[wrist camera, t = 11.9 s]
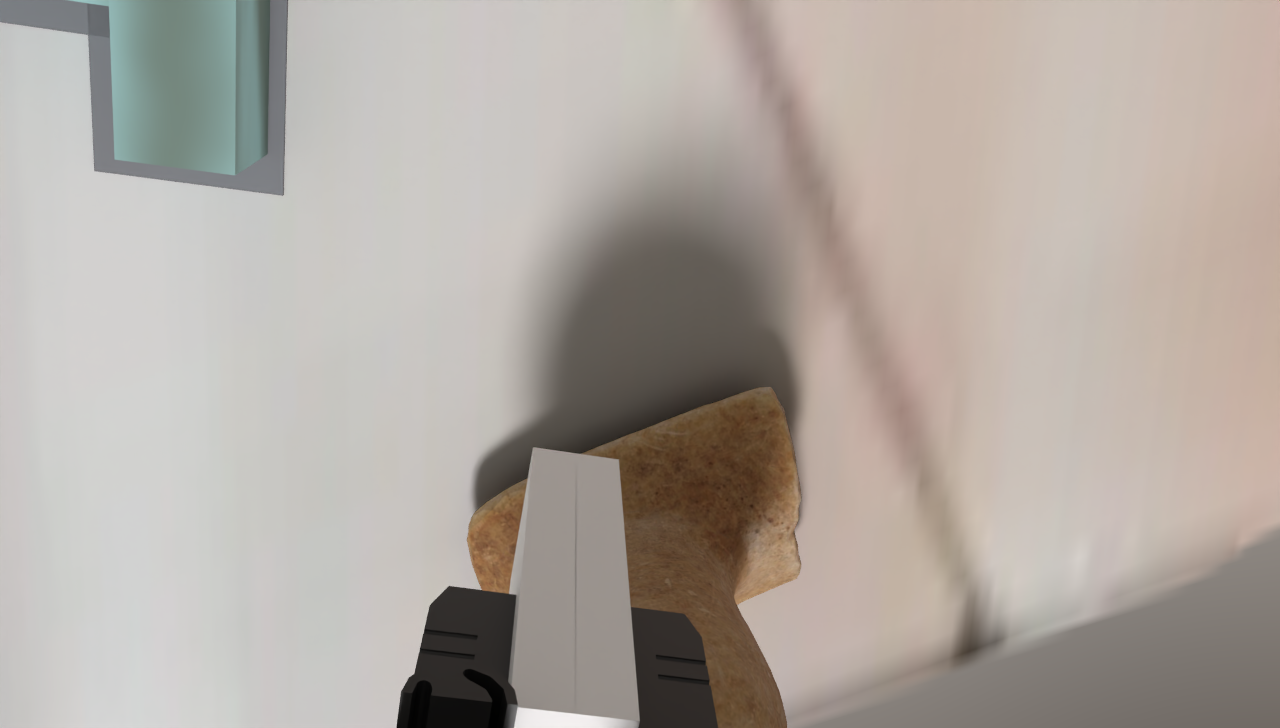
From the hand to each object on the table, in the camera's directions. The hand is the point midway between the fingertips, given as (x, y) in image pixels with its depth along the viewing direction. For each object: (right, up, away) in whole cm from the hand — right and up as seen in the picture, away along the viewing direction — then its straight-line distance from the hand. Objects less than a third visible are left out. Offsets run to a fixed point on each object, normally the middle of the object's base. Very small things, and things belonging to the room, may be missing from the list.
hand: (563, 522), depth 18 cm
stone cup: (+2, -5, +29) cm, 29 cm away
